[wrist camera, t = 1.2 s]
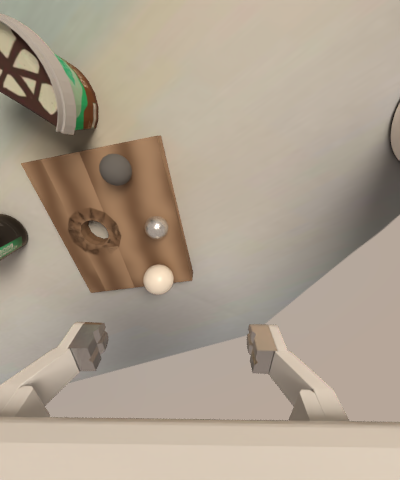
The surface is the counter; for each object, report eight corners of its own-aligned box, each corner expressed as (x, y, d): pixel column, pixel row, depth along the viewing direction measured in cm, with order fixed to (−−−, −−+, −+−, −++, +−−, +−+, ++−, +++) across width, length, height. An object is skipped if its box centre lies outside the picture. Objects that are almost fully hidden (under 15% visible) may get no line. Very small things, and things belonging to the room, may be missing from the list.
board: (160, 135, 29) (156, 135, 27) (193, 272, 40) (192, 280, 38) (34, 161, 31) (20, 163, 29) (97, 284, 42) (90, 292, 40)
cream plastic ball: (171, 257, 35) (166, 274, 31) (178, 279, 38) (174, 299, 33) (144, 260, 36) (135, 278, 32) (152, 283, 38) (144, 302, 34)
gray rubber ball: (130, 149, 28) (119, 152, 24) (139, 179, 30) (130, 185, 26) (102, 155, 28) (87, 158, 25) (113, 184, 30) (100, 191, 26)
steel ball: (167, 210, 32) (162, 219, 29) (172, 231, 33) (168, 241, 30) (145, 214, 32) (138, 223, 29) (151, 234, 34) (145, 244, 30)
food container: (123, 90, 27) (82, 69, 18) (105, 134, 29) (61, 135, 20) (27, 18, 24) (-79, -49, 15) (16, 74, 26) (-81, 44, 18)
